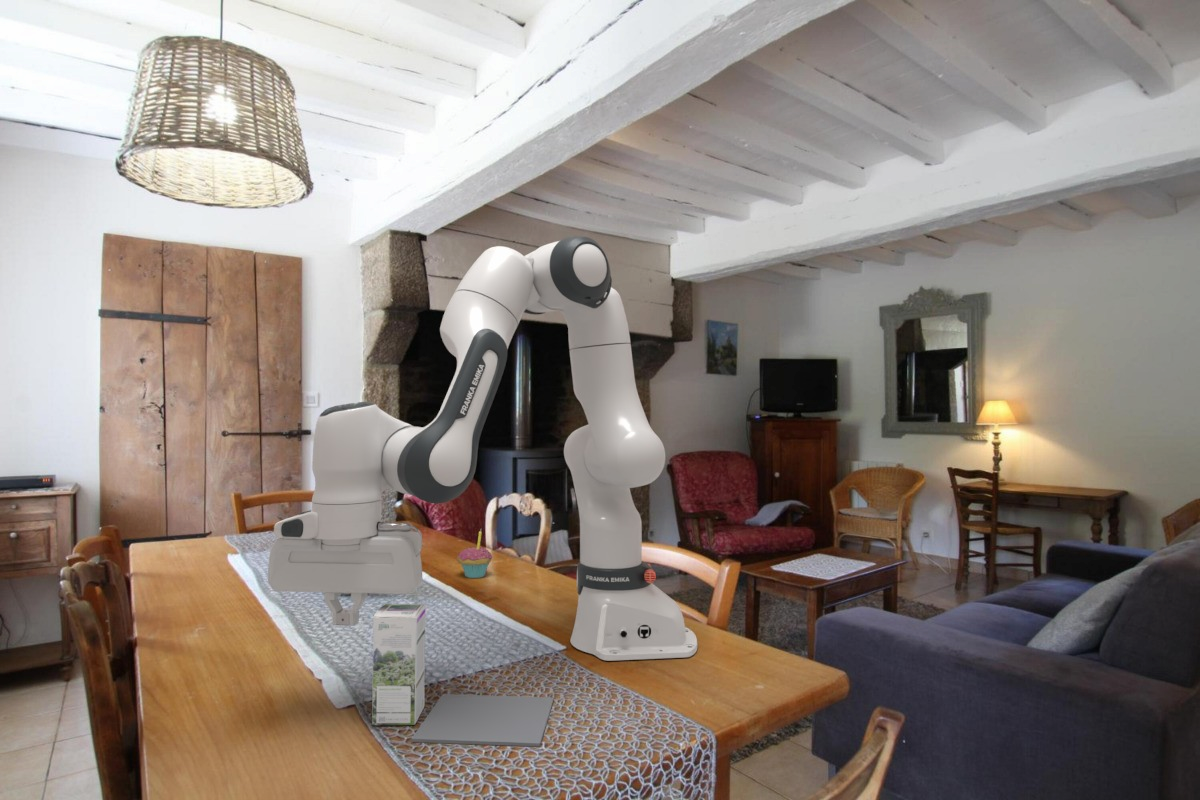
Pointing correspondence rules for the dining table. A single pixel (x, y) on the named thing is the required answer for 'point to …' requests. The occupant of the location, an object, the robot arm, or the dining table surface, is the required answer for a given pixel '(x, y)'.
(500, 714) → the felt mat
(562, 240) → the robot arm
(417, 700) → the syrup box
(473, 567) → the cupcake
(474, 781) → the dining table surface
